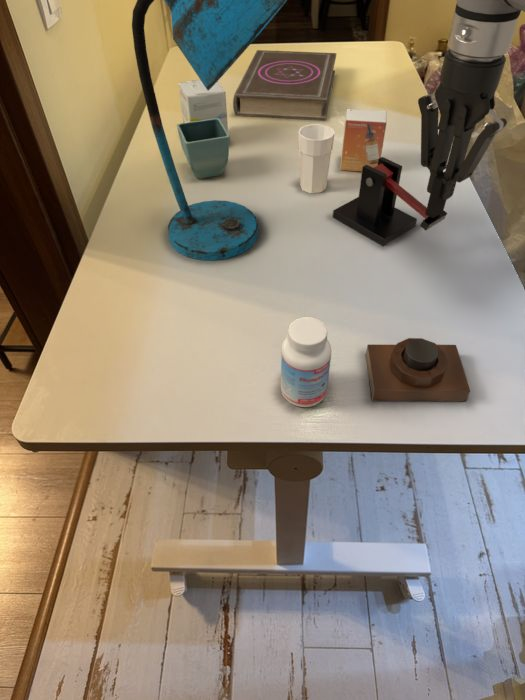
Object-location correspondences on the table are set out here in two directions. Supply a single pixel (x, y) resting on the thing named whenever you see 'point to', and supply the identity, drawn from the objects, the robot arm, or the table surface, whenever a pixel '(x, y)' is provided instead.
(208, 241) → the desk lamp
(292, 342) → the pill bottle
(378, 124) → the small box
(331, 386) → the table surface
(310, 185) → the cup
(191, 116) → the ink box
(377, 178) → the black lever stand
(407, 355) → the bell button
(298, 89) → the book
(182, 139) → the flower pot
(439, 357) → the block
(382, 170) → the red lever
